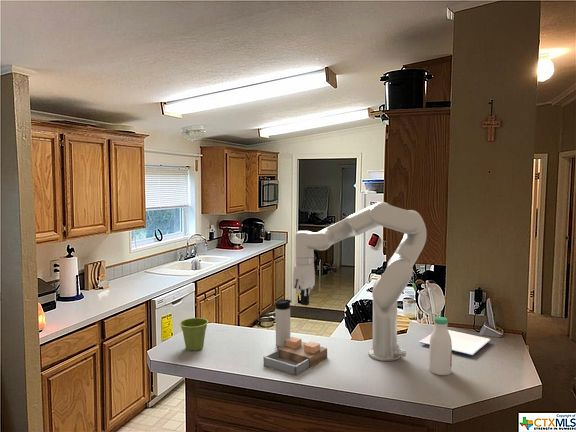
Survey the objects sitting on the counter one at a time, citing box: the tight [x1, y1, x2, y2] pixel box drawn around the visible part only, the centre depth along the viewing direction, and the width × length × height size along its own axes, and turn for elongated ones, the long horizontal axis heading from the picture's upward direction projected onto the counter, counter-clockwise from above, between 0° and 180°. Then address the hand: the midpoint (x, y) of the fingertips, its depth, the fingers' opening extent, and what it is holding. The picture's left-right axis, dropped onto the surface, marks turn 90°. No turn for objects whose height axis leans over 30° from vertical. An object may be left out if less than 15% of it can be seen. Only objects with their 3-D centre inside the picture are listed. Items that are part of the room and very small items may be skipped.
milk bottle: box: [428, 316, 453, 376], centre depth 163 cm, size 8×8×20 cm
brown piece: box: [276, 341, 328, 369], centre depth 176 cm, size 16×12×4 cm
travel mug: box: [274, 299, 292, 348], centre depth 189 cm, size 6×7×20 cm
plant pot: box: [179, 317, 209, 351], centre depth 188 cm, size 12×12×11 cm
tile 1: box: [286, 336, 302, 348], centre depth 179 cm, size 4×4×2 cm
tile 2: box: [304, 341, 321, 354], centre depth 174 cm, size 4×4×2 cm
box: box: [263, 349, 310, 377], centre depth 168 cm, size 15×9×4 cm, turn 53°
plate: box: [418, 329, 491, 356], centre depth 190 cm, size 22×22×2 cm
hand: (304, 304), depth 184 cm, fingers closed
